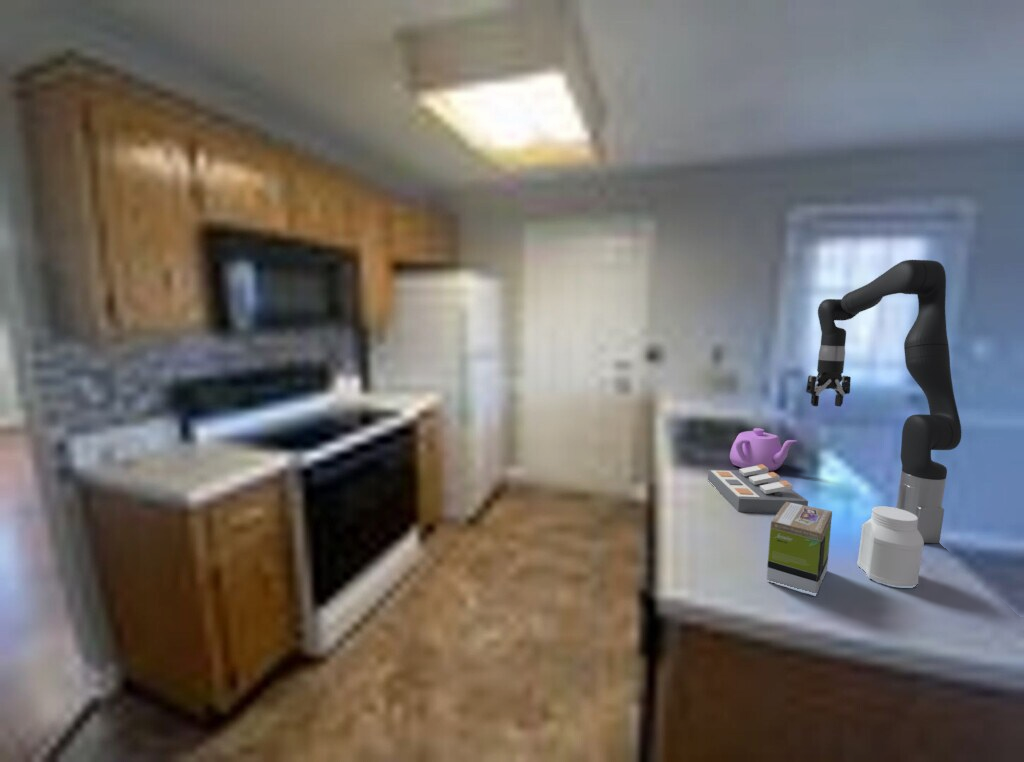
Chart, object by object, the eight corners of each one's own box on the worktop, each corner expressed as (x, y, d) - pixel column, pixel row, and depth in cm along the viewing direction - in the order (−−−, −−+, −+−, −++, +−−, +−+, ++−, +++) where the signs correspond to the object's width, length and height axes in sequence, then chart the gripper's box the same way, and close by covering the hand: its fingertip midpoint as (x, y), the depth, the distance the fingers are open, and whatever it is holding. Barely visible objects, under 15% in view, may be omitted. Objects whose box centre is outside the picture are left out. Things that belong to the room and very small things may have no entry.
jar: (852, 560, 123) (859, 501, 121) (898, 566, 121) (906, 505, 119) (873, 585, 112) (881, 521, 110) (923, 592, 110) (933, 526, 108)
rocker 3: (792, 488, 153) (792, 484, 153) (765, 494, 154) (765, 489, 154) (786, 484, 157) (785, 479, 157) (760, 489, 158) (759, 485, 158)
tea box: (780, 557, 124) (785, 499, 122) (827, 571, 118) (834, 510, 116) (764, 582, 113) (770, 519, 111) (816, 599, 107) (824, 532, 104)
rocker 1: (768, 471, 169) (768, 467, 169) (744, 476, 170) (743, 472, 169) (763, 467, 173) (762, 463, 173) (739, 472, 174) (738, 468, 173)
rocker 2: (780, 479, 161) (779, 475, 161) (754, 484, 162) (753, 480, 162) (774, 475, 165) (773, 471, 165) (749, 480, 166) (748, 476, 166)
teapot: (715, 466, 195) (718, 427, 192) (749, 458, 205) (752, 422, 203) (772, 484, 175) (776, 442, 173) (806, 474, 186) (810, 434, 184)
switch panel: (806, 513, 151) (808, 498, 150) (738, 511, 151) (739, 496, 151) (765, 482, 177) (767, 469, 177) (707, 480, 178) (708, 467, 177)
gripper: (819, 359, 168) (814, 408, 170) (859, 360, 169) (854, 408, 171) (804, 357, 175) (799, 404, 177) (842, 358, 176) (837, 404, 179)
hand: (826, 406), depth 174 cm, fingers open, 8 cm apart
